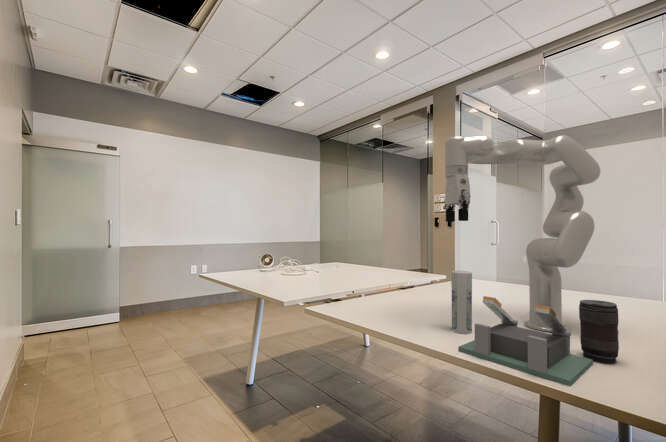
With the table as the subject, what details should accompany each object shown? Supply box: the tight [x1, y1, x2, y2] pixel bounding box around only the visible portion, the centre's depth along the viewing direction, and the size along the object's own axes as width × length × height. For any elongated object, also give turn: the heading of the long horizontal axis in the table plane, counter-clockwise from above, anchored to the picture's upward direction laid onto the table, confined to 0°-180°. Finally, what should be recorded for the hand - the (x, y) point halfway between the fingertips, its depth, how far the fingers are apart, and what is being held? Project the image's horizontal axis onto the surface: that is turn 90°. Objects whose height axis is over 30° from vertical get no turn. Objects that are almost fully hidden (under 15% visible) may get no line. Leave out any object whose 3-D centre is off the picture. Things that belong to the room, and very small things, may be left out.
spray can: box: [450, 270, 473, 335], centre depth 109 cm, size 6×6×20 cm
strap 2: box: [535, 305, 566, 334], centre depth 82 cm, size 14×3×2 cm
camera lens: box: [578, 299, 620, 365], centre depth 86 cm, size 8×8×15 cm
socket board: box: [457, 319, 594, 387], centre depth 86 cm, size 19×26×9 cm
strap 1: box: [482, 295, 514, 323], centre depth 92 cm, size 14×3×2 cm
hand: (456, 221), depth 112 cm, fingers open, 9 cm apart
